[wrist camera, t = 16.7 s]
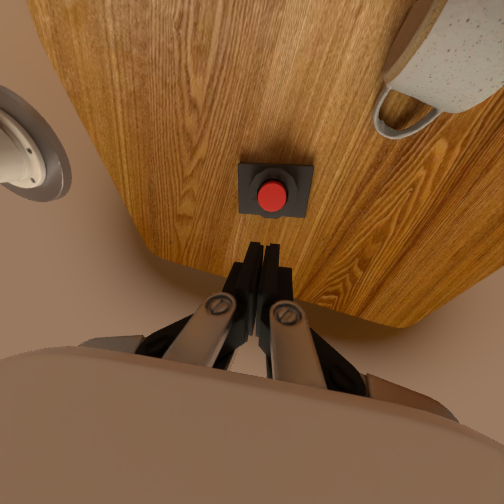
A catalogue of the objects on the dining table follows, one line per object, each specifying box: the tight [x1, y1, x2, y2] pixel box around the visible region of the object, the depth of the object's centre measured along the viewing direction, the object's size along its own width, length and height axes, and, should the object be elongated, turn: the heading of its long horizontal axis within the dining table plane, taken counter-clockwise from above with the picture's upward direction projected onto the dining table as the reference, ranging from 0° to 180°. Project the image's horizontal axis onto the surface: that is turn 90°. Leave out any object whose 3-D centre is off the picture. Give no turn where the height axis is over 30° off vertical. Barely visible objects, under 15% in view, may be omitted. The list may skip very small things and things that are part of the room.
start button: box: [258, 181, 286, 212], centre depth 24 cm, size 4×4×2 cm
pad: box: [238, 162, 314, 219], centre depth 25 cm, size 10×7×3 cm
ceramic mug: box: [372, 0, 504, 139], centre depth 16 cm, size 11×8×8 cm
